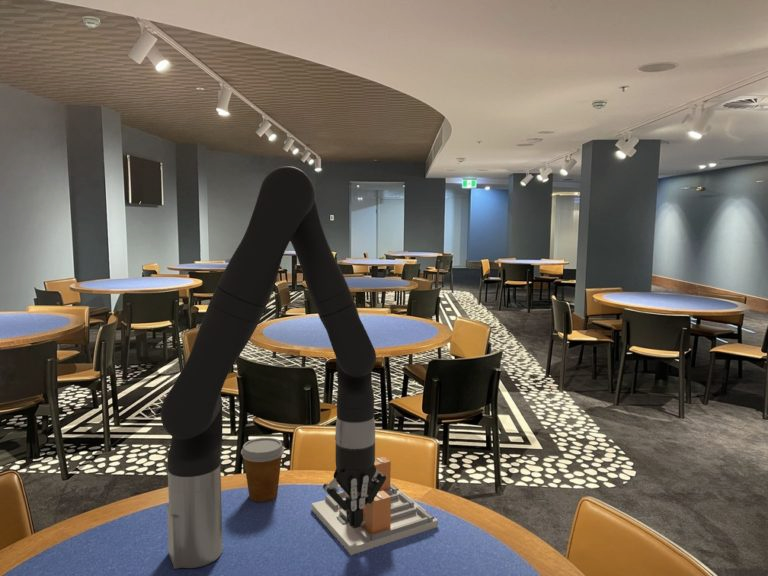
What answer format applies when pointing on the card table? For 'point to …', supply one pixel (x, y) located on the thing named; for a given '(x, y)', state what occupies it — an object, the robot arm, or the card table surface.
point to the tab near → (378, 513)
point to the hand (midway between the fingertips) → (355, 525)
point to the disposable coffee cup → (262, 467)
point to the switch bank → (403, 522)
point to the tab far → (384, 471)
